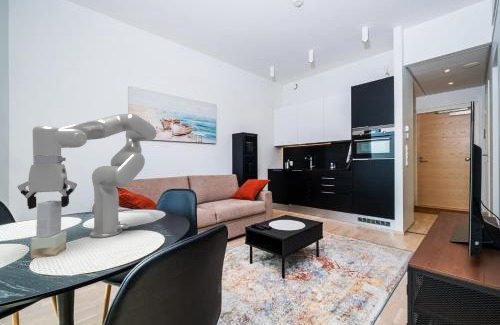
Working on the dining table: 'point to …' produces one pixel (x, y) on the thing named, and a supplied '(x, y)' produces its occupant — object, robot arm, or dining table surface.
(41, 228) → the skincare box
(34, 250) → the oak slab
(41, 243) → the sage slab
